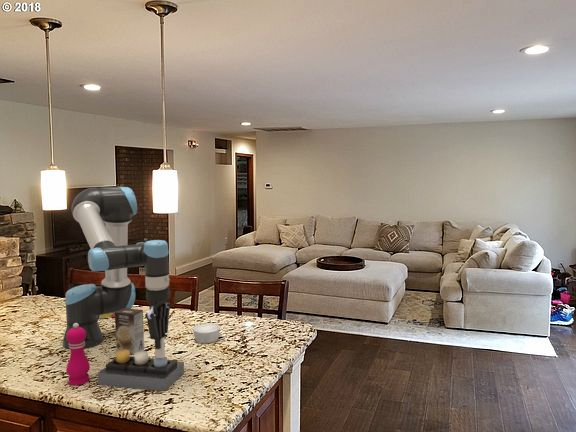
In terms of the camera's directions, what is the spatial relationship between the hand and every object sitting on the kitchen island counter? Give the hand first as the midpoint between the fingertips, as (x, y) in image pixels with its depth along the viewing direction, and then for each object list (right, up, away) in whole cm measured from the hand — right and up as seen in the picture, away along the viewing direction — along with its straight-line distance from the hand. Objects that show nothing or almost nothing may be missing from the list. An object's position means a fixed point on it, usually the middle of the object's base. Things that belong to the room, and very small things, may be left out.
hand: (160, 356), depth 155 cm
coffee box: (-19, -6, +28) cm, 34 cm away
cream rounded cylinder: (-7, -6, +2) cm, 9 cm away
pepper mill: (-27, -9, +1) cm, 29 cm away
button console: (-7, -8, +2) cm, 11 cm away
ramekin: (+9, -5, +38) cm, 40 cm away
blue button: (0, -7, +1) cm, 7 cm away
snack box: (-47, -3, +71) cm, 85 cm away
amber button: (-13, -6, +4) cm, 15 cm away
